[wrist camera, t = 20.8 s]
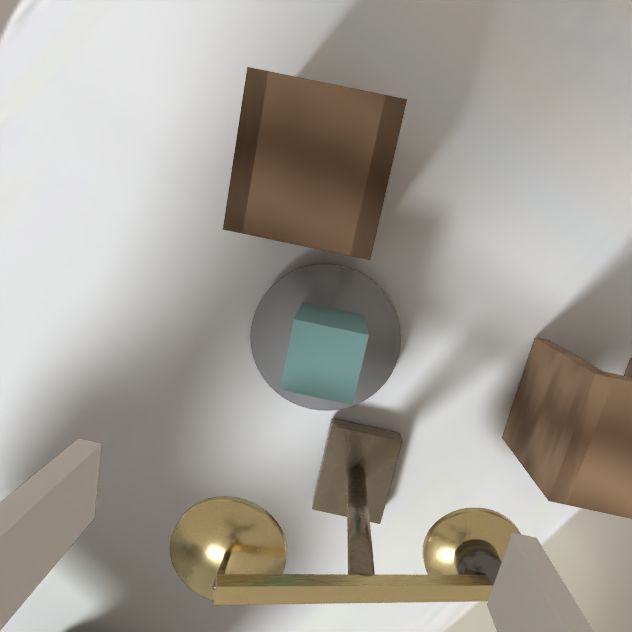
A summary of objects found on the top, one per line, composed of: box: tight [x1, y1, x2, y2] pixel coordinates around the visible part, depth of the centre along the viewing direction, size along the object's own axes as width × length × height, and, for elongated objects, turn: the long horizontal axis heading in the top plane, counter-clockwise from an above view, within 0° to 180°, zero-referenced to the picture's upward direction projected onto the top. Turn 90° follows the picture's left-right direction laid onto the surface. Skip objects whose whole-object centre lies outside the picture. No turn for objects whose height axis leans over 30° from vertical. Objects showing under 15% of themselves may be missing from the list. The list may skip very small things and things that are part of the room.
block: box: [280, 303, 369, 405], centre depth 32 cm, size 5×5×6 cm
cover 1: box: [223, 67, 407, 260], centre depth 29 cm, size 9×9×8 cm
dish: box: [251, 264, 401, 410], centre depth 35 cm, size 12×12×1 cm
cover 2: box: [502, 338, 632, 519], centre depth 32 cm, size 9×9×8 cm
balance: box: [170, 419, 521, 605], centre depth 30 cm, size 8×23×16 cm, turn 79°
